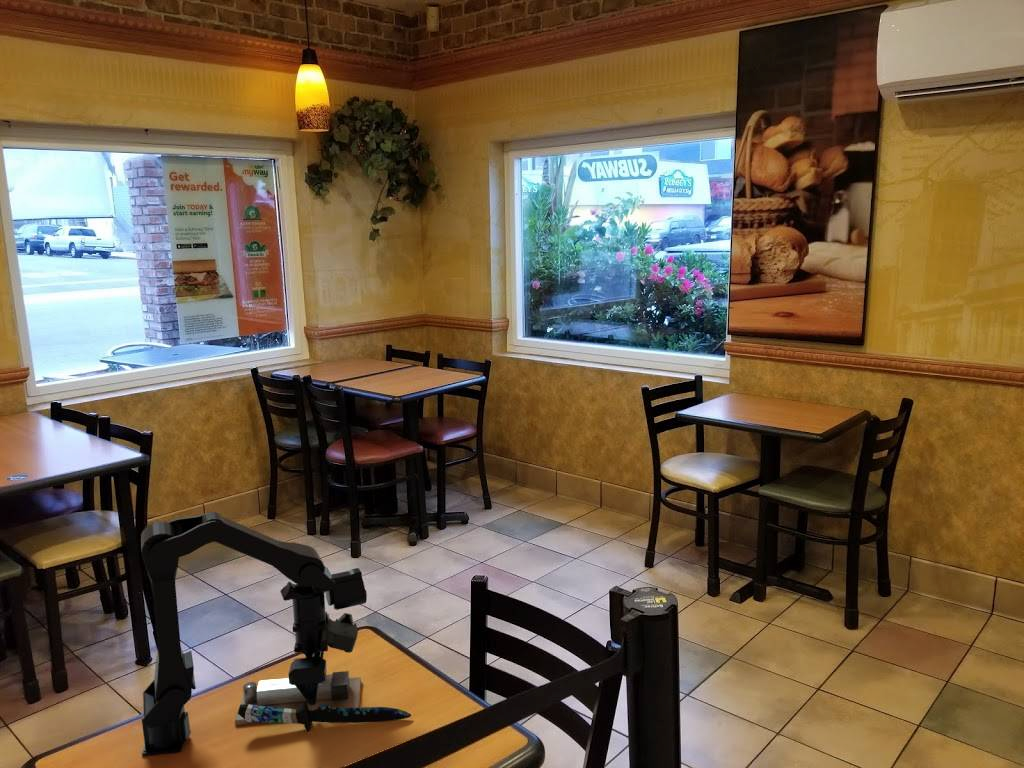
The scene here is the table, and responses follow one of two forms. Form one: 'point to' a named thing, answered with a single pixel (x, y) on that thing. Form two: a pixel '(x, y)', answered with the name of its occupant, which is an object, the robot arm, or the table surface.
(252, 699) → the tong hinge
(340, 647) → the robot arm
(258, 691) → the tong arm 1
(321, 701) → the flat board
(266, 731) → the table surface
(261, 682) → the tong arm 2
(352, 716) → the knife
